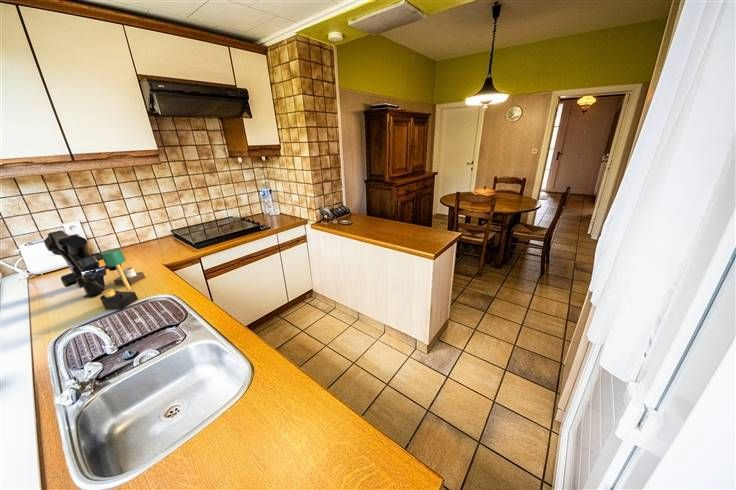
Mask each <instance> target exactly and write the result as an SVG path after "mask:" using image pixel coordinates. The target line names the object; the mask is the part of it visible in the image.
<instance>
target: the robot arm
mask: <svg viewBox="0 0 736 490" xmlns="http://www.w3.org/2000/svg"><path fill="white" fill-rule="evenodd" d="M43 243H44V246H45V247H46V250H47V251H48V252H51V253H52V254H53V255H56V256H61V257H62V259H64V261H65V260H66V261H67V262H66V261H65V262H66V264H67V263H68V264H69V265H70V266H71V267H72V268H73V269H72V270H73V273H72V272H70V273H67V274H64V275H61V277H60V280H61V283H62V285H63V286H64V287H65V288H69V287H72V286H74V285H76V286H77V288H80V289H82V288H83V290H84V292H85V295H83V298H96V297H98V296H100V295H103V293H102V292H103V291H105V290H107V289H108V288H106V282H105V276H107V270H108V271H110V272H114V271H117V268H116V266H106V264H104V265H102V266H100V265H101V264H100V262H99V261H102V260H103V258H102V256H101V252H95V253H93V255H91V254H90V252H89V246H88V239H86V238H85V237H82V236H79V235H78V234H70V235H69V234H67V233H66V232H65V231H64V230H56V231H52V232H49V233H47V237H46V238H45V239H44V240H43ZM68 264H67V265H68ZM119 265H120V267H121V268H122V263H121V264H119Z"/></svg>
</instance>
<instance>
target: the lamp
mask: <svg viewBox="0 0 736 490" xmlns="http://www.w3.org/2000/svg"><path fill="white" fill-rule="evenodd" d="M100 254H101V256H102V258H103V259H102V260H103V262H104V265H106V266H116V268H117V270H116V271H117V272H118V275H119V277H121V279H122V281H123V283H124V285H123V286H124V287H125V290H126V291H131V289H132V288H131V285H129V283H128V281H127V279H126V277H125V275H124V273H123V271H122V270H123V269H122V266H121V267H120V265H119V264H121V265H122V264H123V263H125V262H126V261H127V260H126V258H125V256H124V253H123V251H122V249H121V248H120V247H117V248H110V249H107V250H103V251H101V252H100Z"/></svg>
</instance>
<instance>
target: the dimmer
mask: <svg viewBox="0 0 736 490" xmlns="http://www.w3.org/2000/svg"><path fill="white" fill-rule="evenodd" d="M122 271H123V273H124V275H125V277H126V278H131V277H133V276H135V275H136V272H137V271H136V269H135V268H134V267H133V266H130V267H126V268H123V269H122Z"/></svg>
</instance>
